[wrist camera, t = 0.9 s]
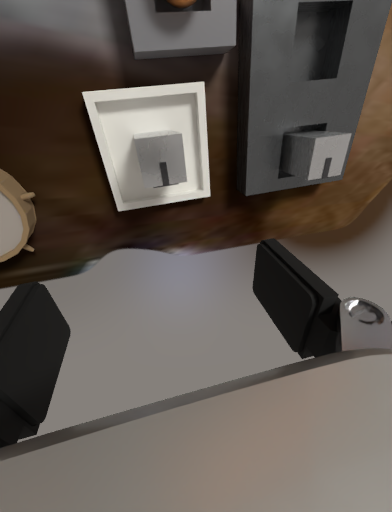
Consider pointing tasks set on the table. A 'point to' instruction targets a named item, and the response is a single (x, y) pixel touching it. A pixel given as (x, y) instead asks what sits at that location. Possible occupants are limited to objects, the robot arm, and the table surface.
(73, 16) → the table surface
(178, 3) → the button cap
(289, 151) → the block
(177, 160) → the billet
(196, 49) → the button housing
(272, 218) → the table surface
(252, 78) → the grey slotted frame
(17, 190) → the alarm clock
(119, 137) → the tray
